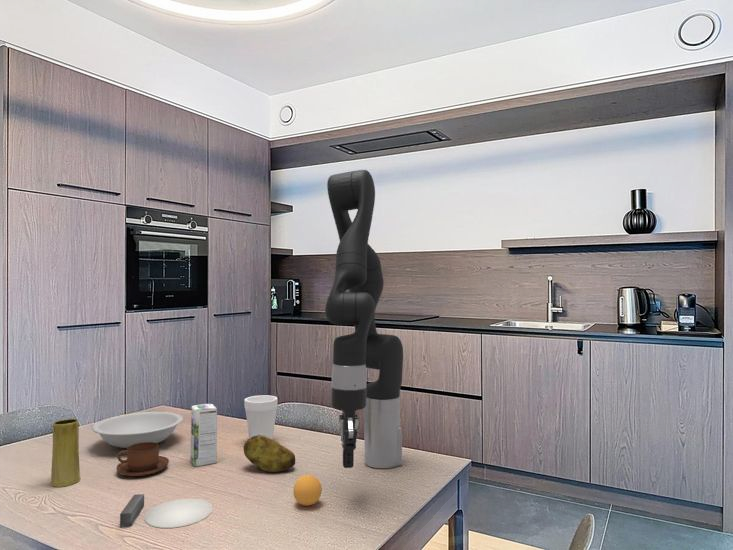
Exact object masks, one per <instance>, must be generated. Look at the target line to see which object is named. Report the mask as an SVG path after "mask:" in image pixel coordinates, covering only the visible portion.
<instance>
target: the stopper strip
mask: <svg viewBox="0 0 733 550" xmlns="http://www.w3.org/2000/svg"><path fill="white" fill-rule="evenodd" d="M144 507H145V493H142V494H141V493H139V494H138V493H137V494H133V496H132V497H131V499H130V500H128V502H127V504H126V506H125V507H123V510H121V512H120V513H119V527H120V528H122V527H124V528H125V527H132V526H133V524H134V523H135V521H136V519H137V518H138V517H139V516H140V513H141V512H142V510H143V508H144Z"/></svg>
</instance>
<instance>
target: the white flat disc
mask: <svg viewBox="0 0 733 550" xmlns="http://www.w3.org/2000/svg"><path fill="white" fill-rule="evenodd" d="M212 512H213V505H212V504H211V503H210V501H208V500H205V499H200V498H178V499H173V500H170V501H166V502H163V503H160V504H158V505H155V506H154V507H152V508H150V509H149V510H147V512H146V513H145V515H144V522H145V523H146V524H147V525H149V526H151V527H154V528H158V529H175V528H182V527H187V526H191V525H194V524H196V523H199V522H201V521H203V520H205V519H206V518H207V517H209V516H210V515H211V514H212Z"/></svg>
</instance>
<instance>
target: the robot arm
mask: <svg viewBox="0 0 733 550" xmlns="http://www.w3.org/2000/svg"><path fill="white" fill-rule="evenodd" d="M326 185H327V187H326V188H327V194H328V195H327V196H328V200H329V204H330V208H331V212H332V217H333V219H334V223H335V227H336V230H337V233H338V234H337V235H338V239H339V243H338V246H337V249H336V254H335V275H334V278H333V284H332V287H331V290H330V292H329V294H328V297H327V300H326V303H325V308H324V313H325V317H326V319H327V321H328V322H329V323H331V324H332V325H339V326H343V325H346V326H350V325H351V326H354V332H352V333H350V334H346V335H345V334H344V335H340V336H337V337H335V338H334V340H333V349H332V350H333V351H332V353H333V354H332V356H333V357H332V370H331V394H330V395H331V396H330V397H331V408H332V409H334V410H339V411H341V412H342V414H338V422H339V436H340V441H341V448H342V467H343V468H344V469H348V468H349V469H350V468H351V469H352V468H353V467H354V459H355V457H354V455H355V454H354V453H355V452H354V451H355V450H356V448H357V439H358V426H359V425H360V423H359V420H360V419H359V417H358V414H356V411H358V410H359V411H360V410H364V411H363V413H364V419H363V420H364V421H363V422H364V424H363V425H364V427H363V428H364V436H363V437H364V440H363V441H364V455H363V457H364V464H365V465H366V466H368V467H370V468H375V469H390V468H395V467H399V466H403V430H402V426H401V419H400V418H401V416H400V415H401V414H400V411H401V406H400V405H401V403H400V402H401V398H400V397H401V394H400V393H401V387H402V383H403V371H404V370H403V364H404V348H403V347H404V346H403V343H402V341H401V339H400V338H399V337H398V336H397V335H394V334H385V333H378V332H377V327H376V318H375V316H376V315H375V314H376V309H377V306H378V304H379V301H380V298H381V296H382V293H383V291H384V285H385V284H384V283H385V282H384V281H385V280H384V276H383V270H382V264H381V260H380V257H379V256H378V254H377V253H376V251H375V250H374V249H373V248H372V246H371V245H370V244H369V236H370V231H371V227H372V220H373V214H374V209H375V202H376V201H375V200H376V187H375V181H374V179H373V176H372V174H371V173H370V171H369V170H367V169H359V170H357V169H356V170H351V171H345V172H341V173H340V172H339V173H335V174H332V175H330V176H329V177H328V179H327V184H326ZM354 210H357V211H356V215H355V216H354V219H353V220H352V219H351V216H350V214H349V211H354ZM347 290H348V291H347ZM367 369H371V370H372V369H373V370H377V371H379V372H378V379H377V380H375V381H371V382H368V380H367V379H368V375H367ZM367 382H368V383H367Z"/></svg>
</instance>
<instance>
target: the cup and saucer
mask: <svg viewBox="0 0 733 550" xmlns="http://www.w3.org/2000/svg"><path fill="white" fill-rule="evenodd" d="M122 454H125V455H126V459H122V458H121V455H122ZM117 461H118V462H120V463H118V464H117V465H116V468H115V469H116V472H117V473H119V474H121V475H123V476H125V477H143V476H148V475H153V474H155V473H158V472H160V471H162V470H163V469H165V468H166V467H167V466H168V465H169V463H170V459H169V458H168V457H165V456H162V455H161V456H160V444H159V443H154V442H144V443H138V444H134V445H131V446H129V447H128V448H126V450H125V449H124V450H120V451H119V452H118V454H117Z"/></svg>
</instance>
